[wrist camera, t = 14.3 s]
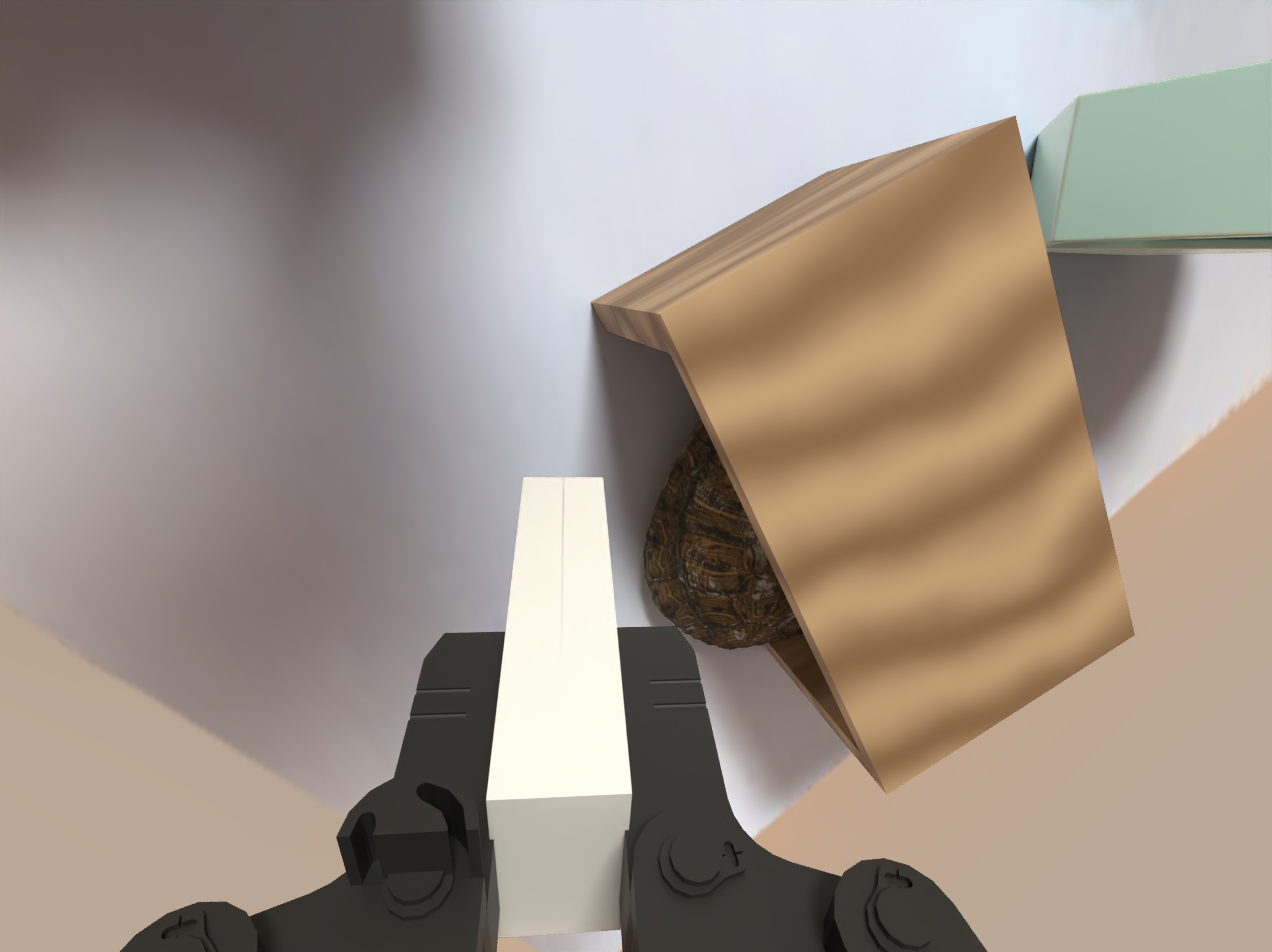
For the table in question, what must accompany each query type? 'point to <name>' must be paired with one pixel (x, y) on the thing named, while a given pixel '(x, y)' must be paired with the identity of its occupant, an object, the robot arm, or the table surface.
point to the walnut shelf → (901, 439)
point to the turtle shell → (712, 557)
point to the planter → (1161, 167)
